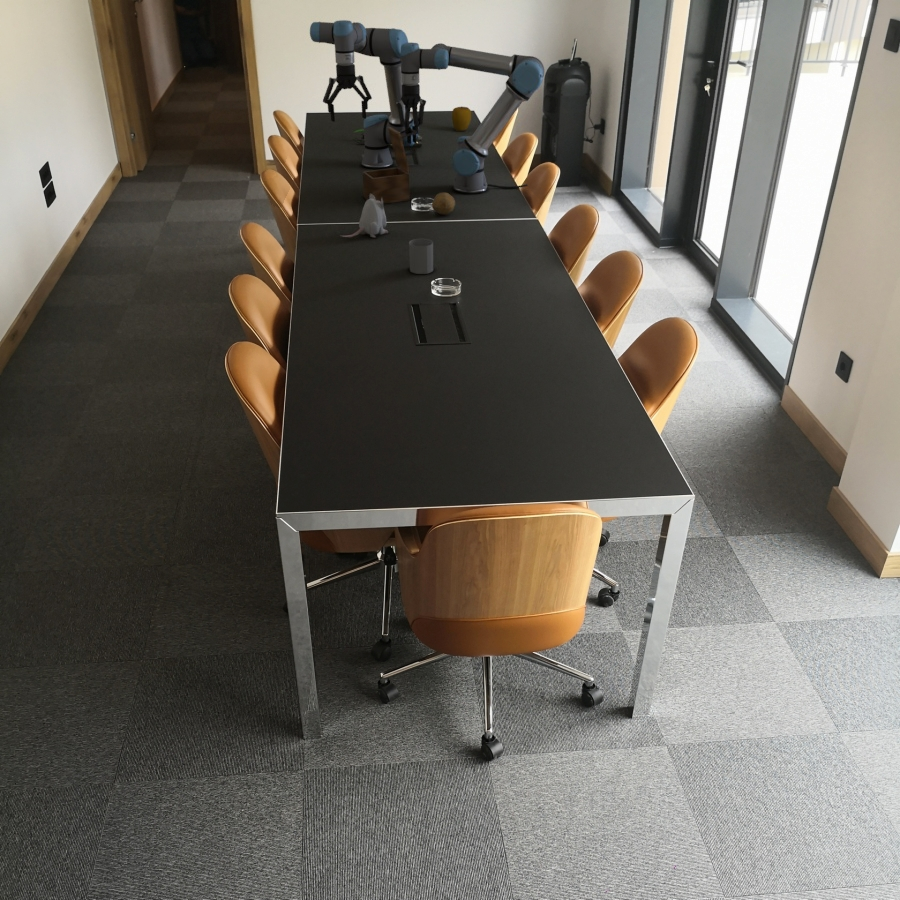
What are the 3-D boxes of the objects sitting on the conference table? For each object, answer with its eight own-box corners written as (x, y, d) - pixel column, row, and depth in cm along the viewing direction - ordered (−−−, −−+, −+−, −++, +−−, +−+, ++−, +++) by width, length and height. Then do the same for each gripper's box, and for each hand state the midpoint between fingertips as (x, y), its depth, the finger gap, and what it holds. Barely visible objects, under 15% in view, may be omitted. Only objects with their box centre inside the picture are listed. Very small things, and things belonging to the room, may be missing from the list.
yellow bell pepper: (471, 132, 486) (471, 108, 479) (451, 132, 486) (451, 108, 479) (470, 128, 495) (471, 104, 488) (452, 128, 495) (452, 104, 488)
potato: (453, 208, 369) (453, 189, 365) (456, 218, 357) (456, 199, 353) (431, 208, 368) (430, 189, 364) (432, 218, 356) (432, 199, 352)
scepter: (408, 126, 469) (352, 123, 467) (408, 141, 462) (351, 138, 459) (408, 135, 474) (352, 133, 471) (408, 150, 467) (352, 148, 464)
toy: (393, 232, 342) (392, 194, 333) (348, 247, 327) (345, 208, 319) (378, 227, 347) (376, 190, 339) (332, 242, 332) (330, 203, 324)
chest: (373, 205, 373) (372, 178, 367) (364, 197, 382) (362, 171, 376) (409, 200, 379) (409, 174, 373) (399, 192, 388) (398, 167, 382)
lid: (398, 133, 362) (417, 126, 364) (387, 127, 371) (406, 120, 373) (407, 173, 372) (426, 166, 374) (397, 166, 382) (415, 159, 383)
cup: (409, 265, 311) (408, 238, 306) (432, 265, 312) (431, 238, 307) (410, 274, 304) (409, 246, 299) (433, 273, 305) (433, 246, 299)
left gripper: (318, 67, 339) (322, 124, 350) (377, 63, 348) (380, 118, 359) (312, 64, 345) (316, 120, 356) (371, 60, 353) (373, 114, 365)
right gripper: (397, 86, 354) (399, 146, 367) (430, 84, 359) (431, 142, 372) (390, 83, 360) (392, 142, 373) (423, 81, 365) (424, 138, 378)
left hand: (348, 119), depth 358 cm, fingers open, 13 cm apart
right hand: (411, 142), depth 372 cm, fingers closed on lid, 2 cm apart
